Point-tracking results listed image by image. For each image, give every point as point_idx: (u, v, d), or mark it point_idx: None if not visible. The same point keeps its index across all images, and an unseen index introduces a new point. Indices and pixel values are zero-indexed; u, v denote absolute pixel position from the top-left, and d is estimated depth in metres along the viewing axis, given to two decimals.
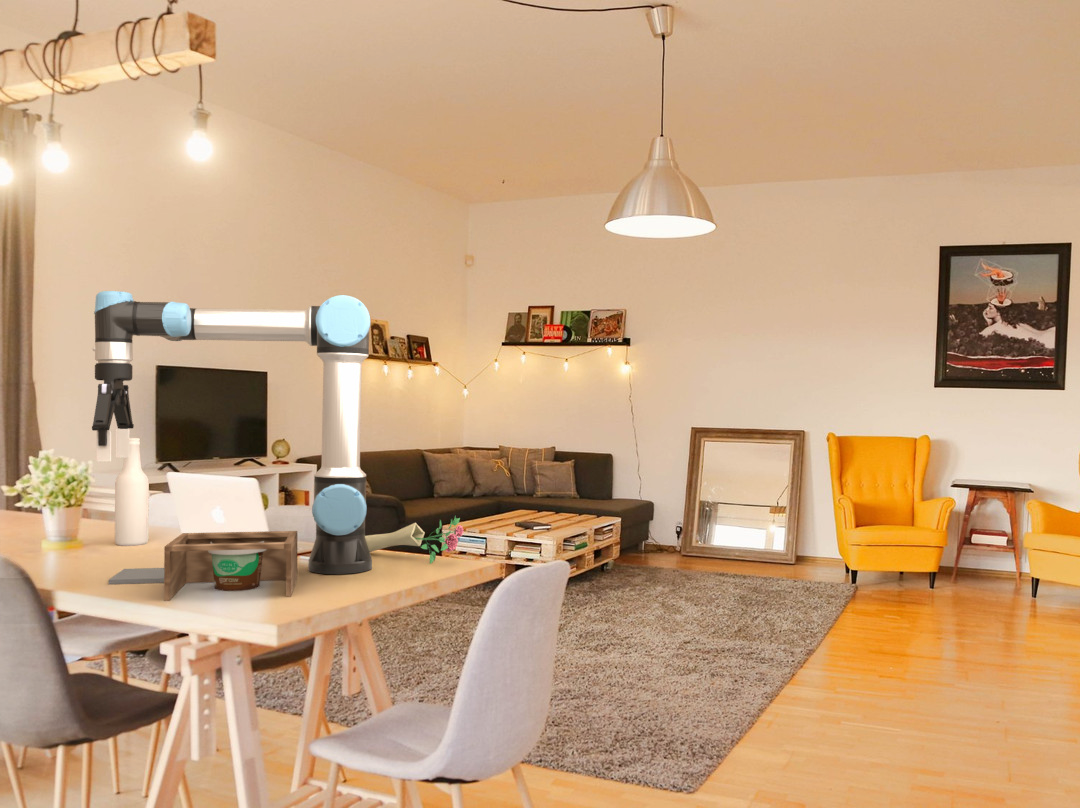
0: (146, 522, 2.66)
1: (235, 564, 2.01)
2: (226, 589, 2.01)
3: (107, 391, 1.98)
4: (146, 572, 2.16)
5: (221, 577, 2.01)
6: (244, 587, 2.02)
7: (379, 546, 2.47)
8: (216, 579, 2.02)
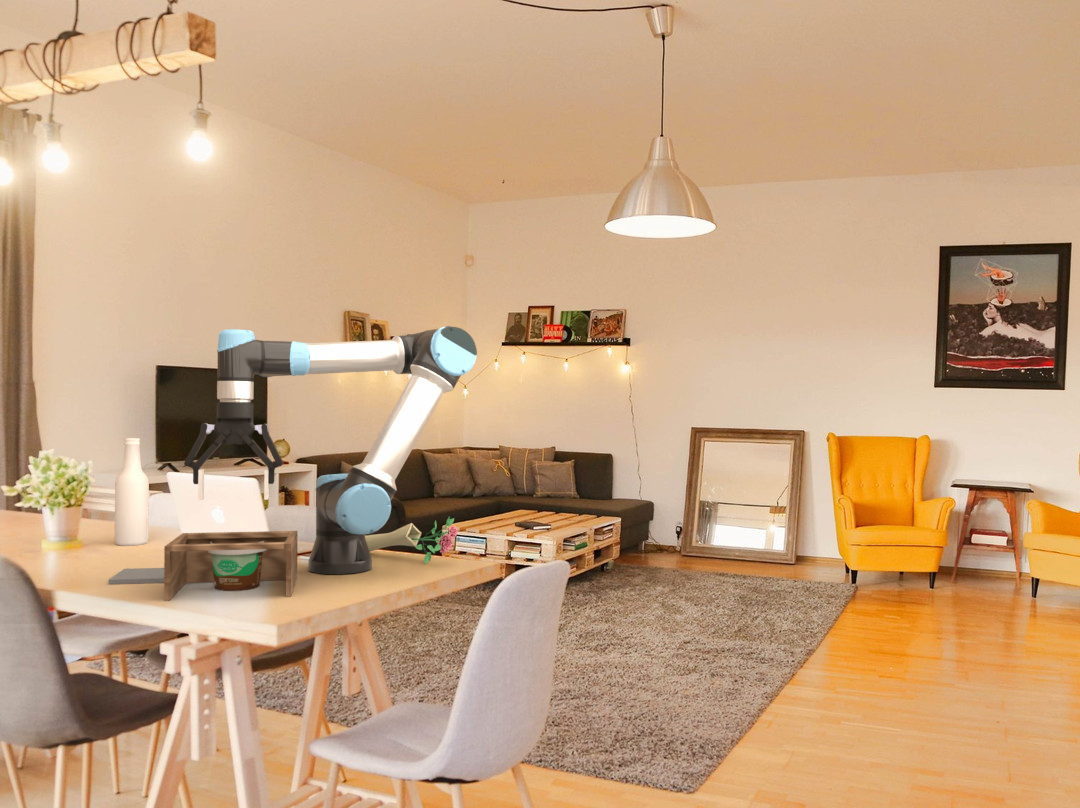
0: (146, 522, 2.66)
1: (235, 564, 2.01)
2: (226, 589, 2.01)
3: None
4: (146, 572, 2.16)
5: (221, 577, 2.01)
6: (244, 587, 2.02)
7: (376, 546, 2.47)
8: (216, 579, 2.02)
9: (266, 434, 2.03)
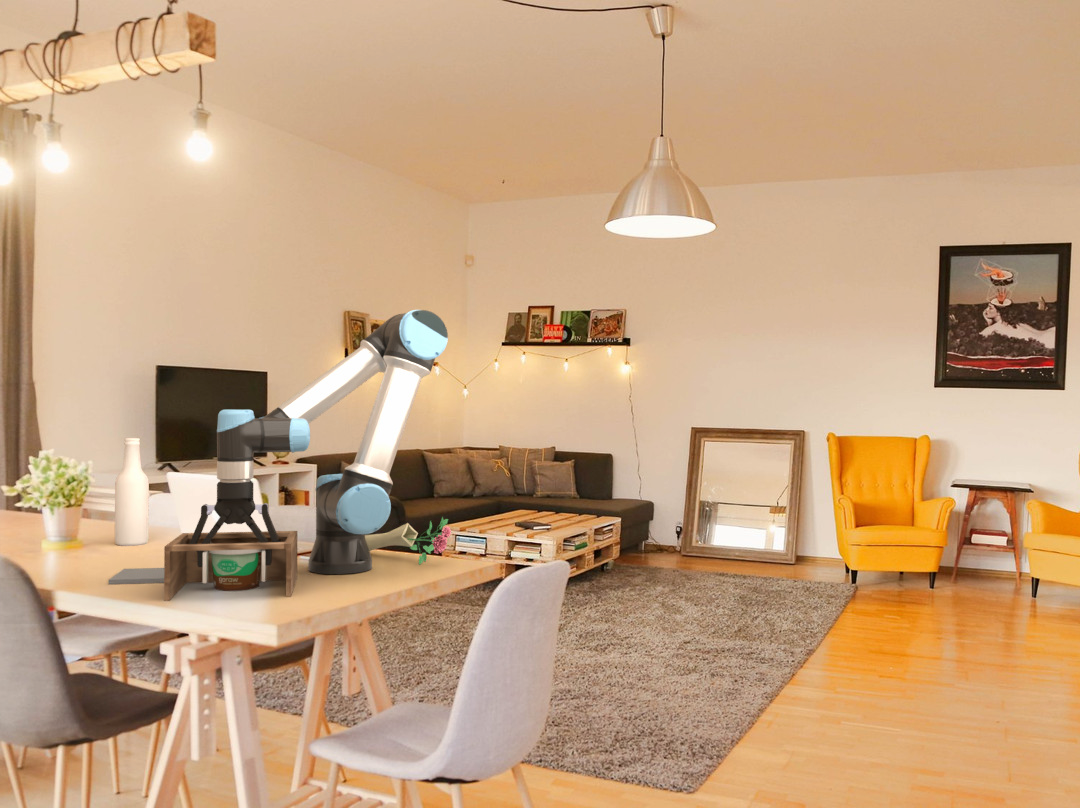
0: (146, 522, 2.66)
1: (234, 564, 2.01)
2: (226, 589, 2.01)
3: (201, 512, 2.01)
4: (146, 572, 2.16)
5: (220, 577, 2.01)
6: (244, 587, 2.02)
7: (374, 546, 2.47)
8: (215, 579, 2.02)
9: (266, 515, 2.03)
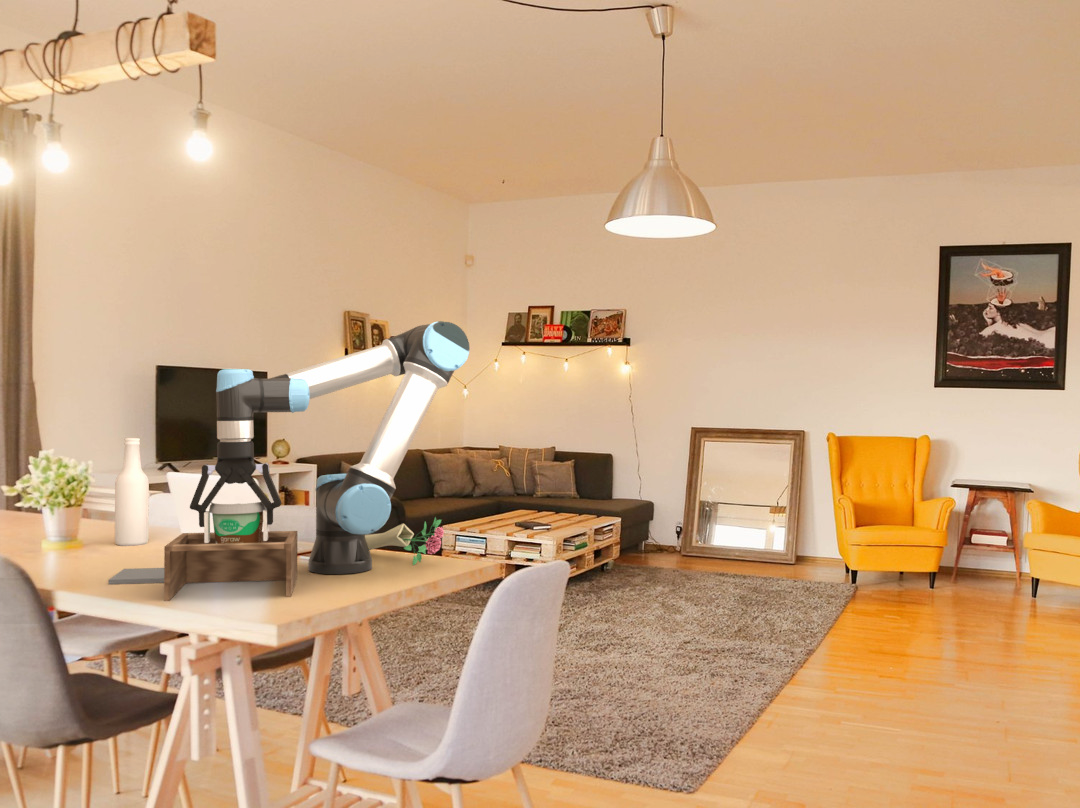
0: (146, 522, 2.66)
1: (236, 523, 2.01)
2: None
3: (202, 472, 2.01)
4: (146, 572, 2.16)
5: (222, 537, 2.01)
6: None
7: (371, 546, 2.47)
8: (217, 539, 2.02)
9: (266, 474, 2.03)
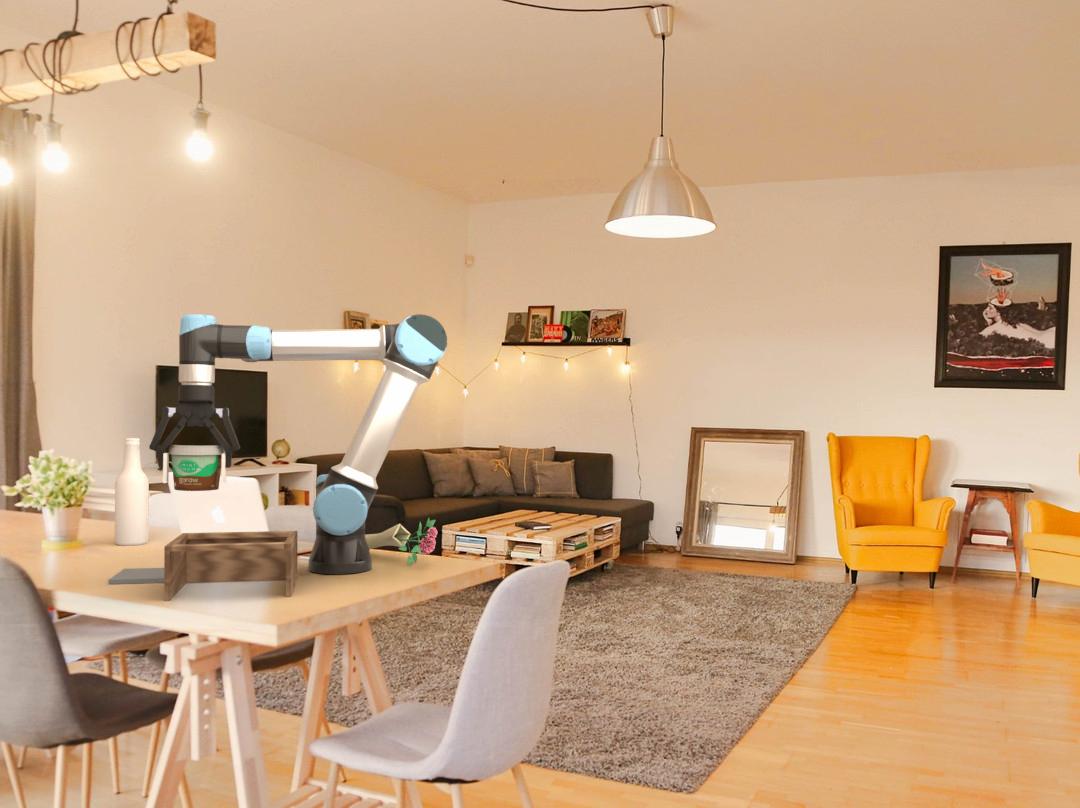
0: (146, 522, 2.66)
1: (195, 465, 2.06)
2: (186, 489, 2.06)
3: None
4: (146, 572, 2.16)
5: (181, 477, 2.06)
6: (203, 488, 2.07)
7: (369, 546, 2.47)
8: (175, 480, 2.07)
9: (226, 418, 2.08)
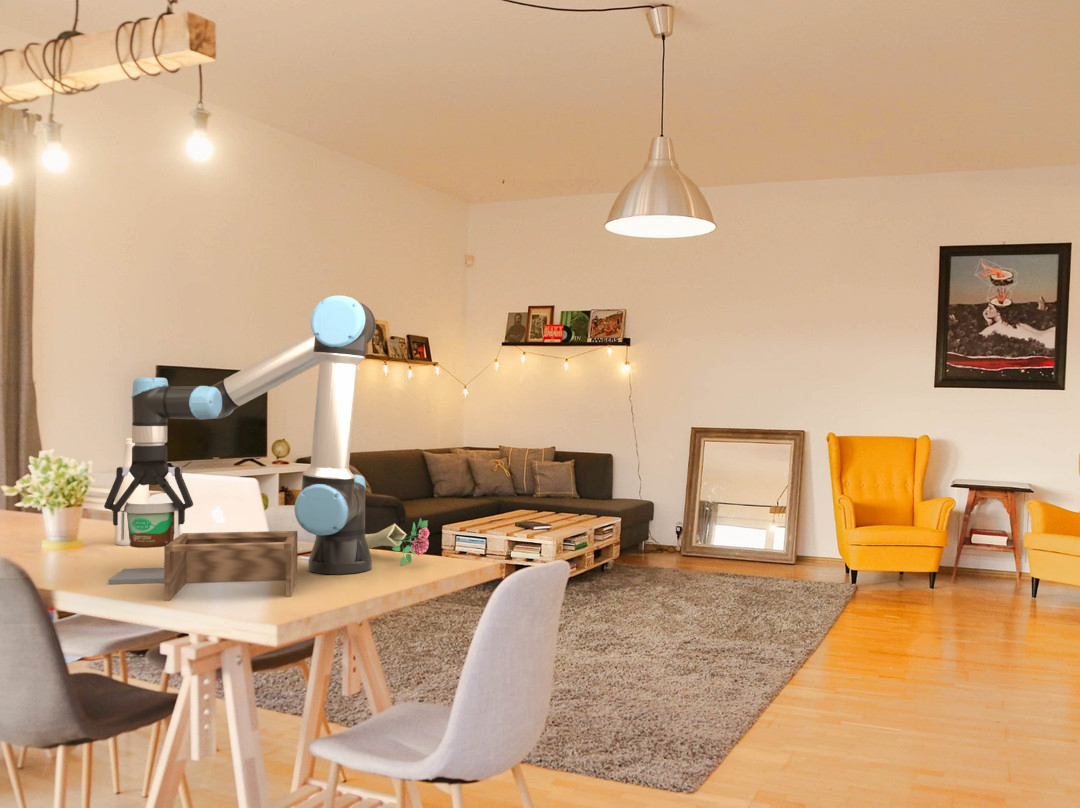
0: None
1: (148, 522, 2.13)
2: (139, 546, 2.13)
3: None
4: (146, 572, 2.16)
5: (135, 535, 2.14)
6: (157, 544, 2.14)
7: None
8: (130, 537, 2.15)
9: (178, 476, 2.15)
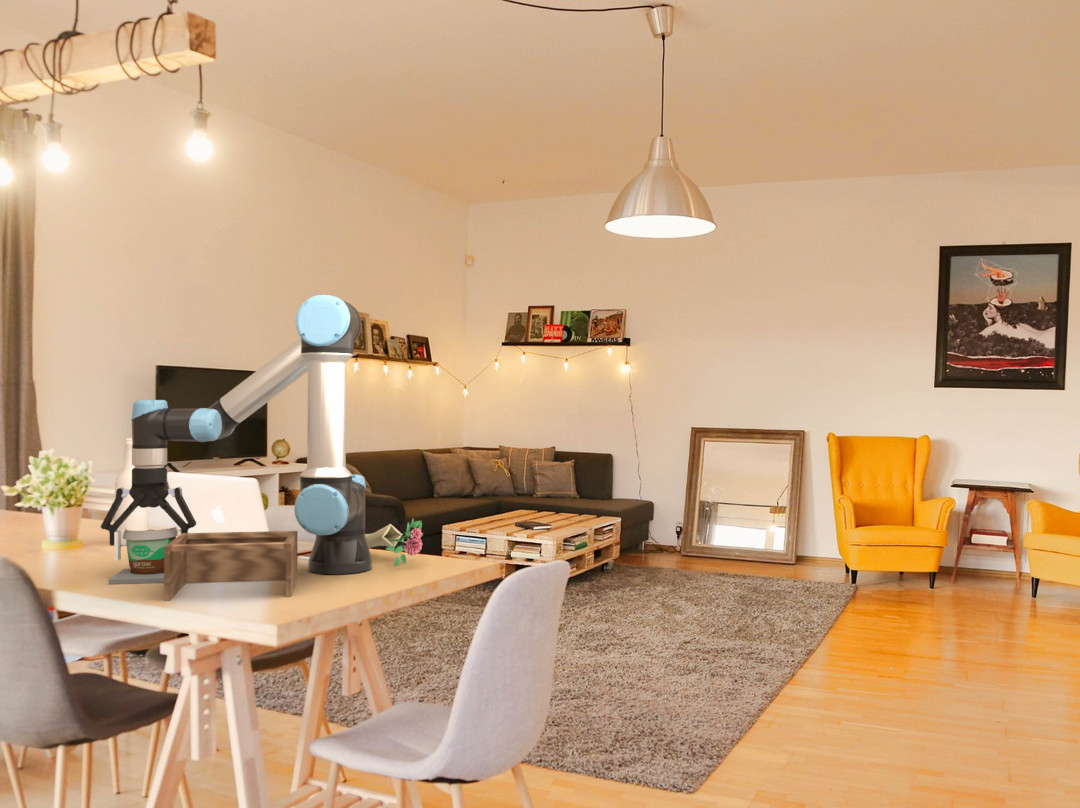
0: (146, 522, 2.66)
1: (147, 549, 2.13)
2: (139, 572, 2.14)
3: (116, 495, 2.13)
4: None
5: (134, 561, 2.14)
6: (157, 570, 2.14)
7: None
8: (130, 563, 2.15)
9: (179, 497, 2.15)
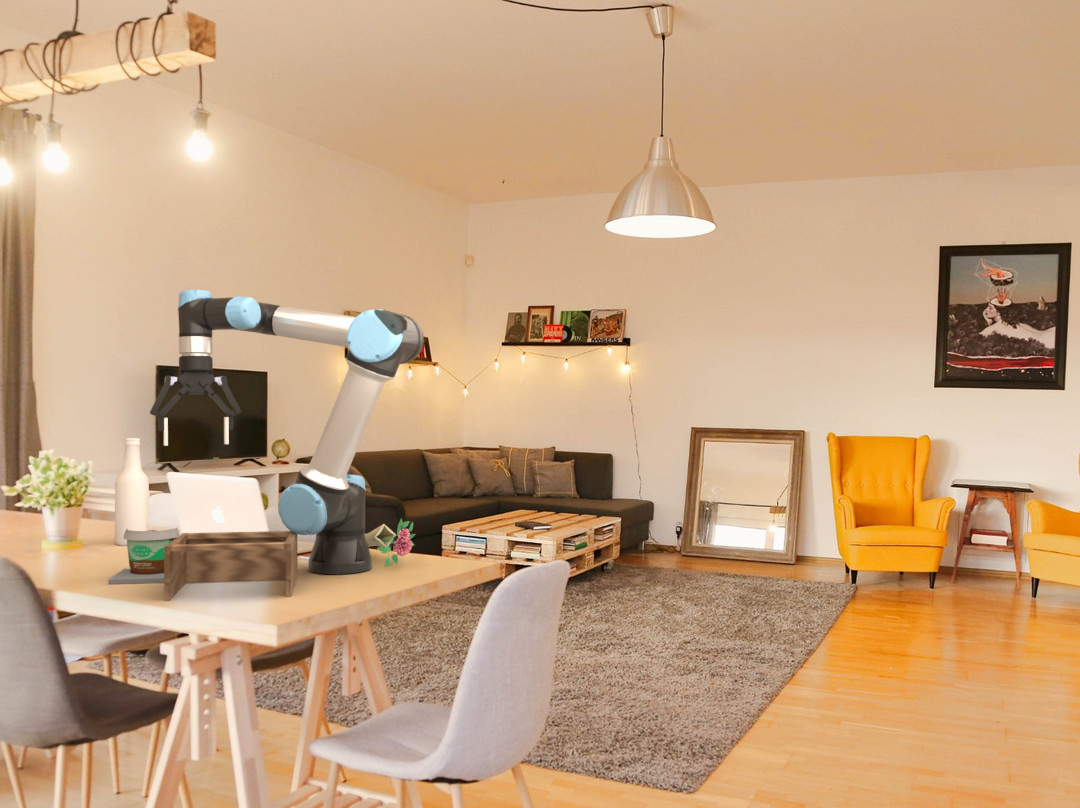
0: (146, 522, 2.66)
1: (148, 549, 2.13)
2: (140, 573, 2.14)
3: (164, 382, 2.19)
4: None
5: (135, 561, 2.14)
6: (157, 571, 2.14)
7: None
8: (130, 564, 2.15)
9: (226, 385, 2.25)
